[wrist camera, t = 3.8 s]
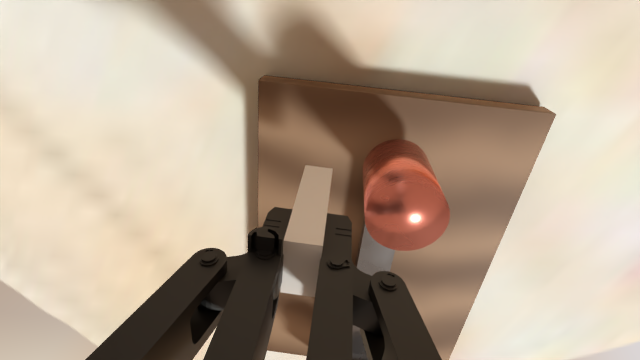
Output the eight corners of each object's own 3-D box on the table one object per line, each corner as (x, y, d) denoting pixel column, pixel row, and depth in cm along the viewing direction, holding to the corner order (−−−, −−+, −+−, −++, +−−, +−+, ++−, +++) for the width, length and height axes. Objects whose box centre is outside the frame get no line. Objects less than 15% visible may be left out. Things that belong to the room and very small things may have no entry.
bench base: (264, 75, 22) (210, 123, 14) (543, 107, 22) (660, 176, 13) (261, 335, 35) (231, 442, 27) (438, 360, 34) (465, 477, 26)
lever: (354, 125, 21) (354, 174, 16) (444, 135, 21) (478, 189, 15) (323, 334, 31) (316, 413, 25) (385, 343, 31) (392, 424, 25)
